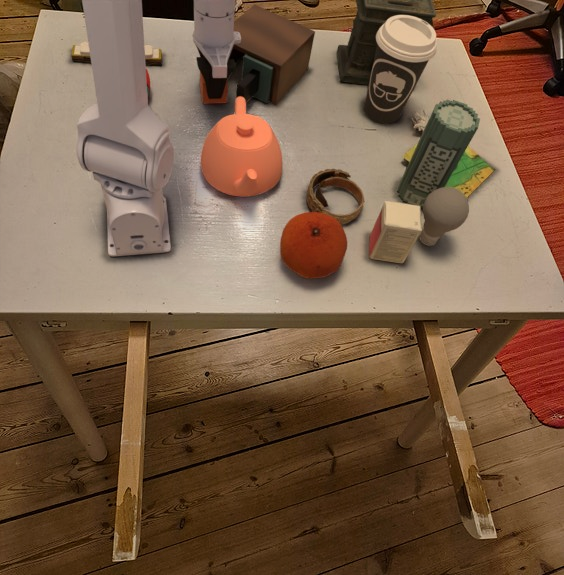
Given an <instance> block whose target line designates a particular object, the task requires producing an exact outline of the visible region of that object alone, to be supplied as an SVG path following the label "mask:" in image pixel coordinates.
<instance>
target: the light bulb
mask: <svg viewBox="0 0 564 575" xmlns="http://www.w3.org/2000/svg"><path fill="white" fill-rule="evenodd" d="M469 213H470V204H469V200H468V197H467V198H466V197H465V195H464V194H463V193H462V192H461V191H459V190H458V189H455V188H452V187H443V188H439V189H437V190H435V191H433V192H432V193H430V194H429V195H428V196H427V198H426V200H425V202H424V205H423V208H422V215H423V220H424V222H423V228H422V231H421V233H420V235H419V240H420V242H421V243H422V244H424V245H426V246H430V247H431V246H435V244H436V243H437V242H438V240H439V239H440V238H441V237H442V236H444V235H445V234H446V233H448V232H451V231H455V230H457V229H458V228H460V227H461V226H462V225H463V224H464V223H465V222H466V220H467V219H468V217H469Z"/></svg>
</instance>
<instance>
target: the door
mask: <svg viewBox="0 0 564 575" xmlns="http://www.w3.org/2000/svg"><path fill="white" fill-rule="evenodd" d="M272 73H273V67H271V66H269V65H267V64H265V63H263V62H260V61H258V60H256V59H254V58H252V57H250V56H247V54H245V55H244V56H243V57H242V74H241V79H240V80H239V81H238V82H237V83H236V90H235V91H236V92H235V99H236V98H237V97H239V96H241V97H244V98H245V101H246V103H248V101H249V100H251V99H252V97H253V98H255V99H257V100H258V101H261V102H263V103H265V104H268V103H270V102H269V97H270V89H271V81H272Z"/></svg>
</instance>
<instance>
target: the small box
mask: <svg viewBox="0 0 564 575" xmlns="http://www.w3.org/2000/svg"><path fill="white" fill-rule="evenodd" d="M422 219H423V218H422V208H421V207H420V206H416V205H411V204H407V203H406V202H405V203H404V202H398V201H391V200H384V202H383V204H382V207H381V209H380V212H379V214H378V216H377V218H376V221H375V223H374V225H373V227H372V230H371V231H370V234H369V240H368V241H369V244H368V252H369V253H368V258H369V259H370V260H377V261H382V262H388V263H389V262H390V263H397V264H404V263H405V261H406V259H407V258H408V256H409V255H410V252H411V250H412V249H413V247H414V245H415V244H416V242H417V240H418V238H419V237H420V234H421V232H422V230H423V221H422Z"/></svg>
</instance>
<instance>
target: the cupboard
mask: <svg viewBox="0 0 564 575" xmlns="http://www.w3.org/2000/svg"><path fill="white" fill-rule="evenodd" d="M234 32H239V33H240V35H241V43H239V44H234V45H233V48H232V51H231V53H230V56H229V59H228V60H230V59H234V61H235V65H236V64H237V63H238V62H239V61H240V60H241V59H243V58H244V55H247V56H250V57H252V58H254V59H256V60H258V61H260V62H263V63H265V64H267V65H269V66H271V67H273V73H272V81H271V89H270V97H269V102H268V103H270V104H272V105H275V106H276V105H277V104H278V103H279V102H280V101H281V100H282V99H284V97H285V96H286V94H287V93H288V92H289V91H290V90H291V89H292V88H293V87H294V86H295V85H296V84H297V83H298V81H299V80H300V79H301V78H302V77H303V76H304V75H305V74H306V73H307V72H308V70H309V66H310V59H311V54H312V49H313V45H314V39H315V34H316V31H315V30H314V29H311V28H309V27H307V26H304V25H302V24H299V23H297V22H295V21H292V20H290V19H288V18H286V17H284V16H281V15H279V14H277V13H274V12H273V11H270V10H268V9H266V8H264V7H261V6H259V5H257V4H252V6H251V7H250V8H248V9H247V10H246V11H244V13H242V14H241V15H240V16H239V17H238V18H236V19H234Z"/></svg>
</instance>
